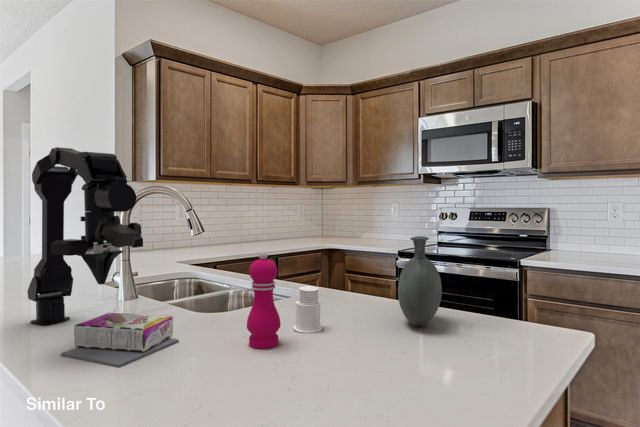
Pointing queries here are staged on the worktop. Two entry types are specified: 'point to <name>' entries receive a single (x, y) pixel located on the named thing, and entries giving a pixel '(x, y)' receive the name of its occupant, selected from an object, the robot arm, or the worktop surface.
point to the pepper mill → (263, 305)
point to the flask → (419, 286)
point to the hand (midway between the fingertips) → (101, 284)
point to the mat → (114, 354)
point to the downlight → (308, 311)
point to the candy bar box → (124, 331)
